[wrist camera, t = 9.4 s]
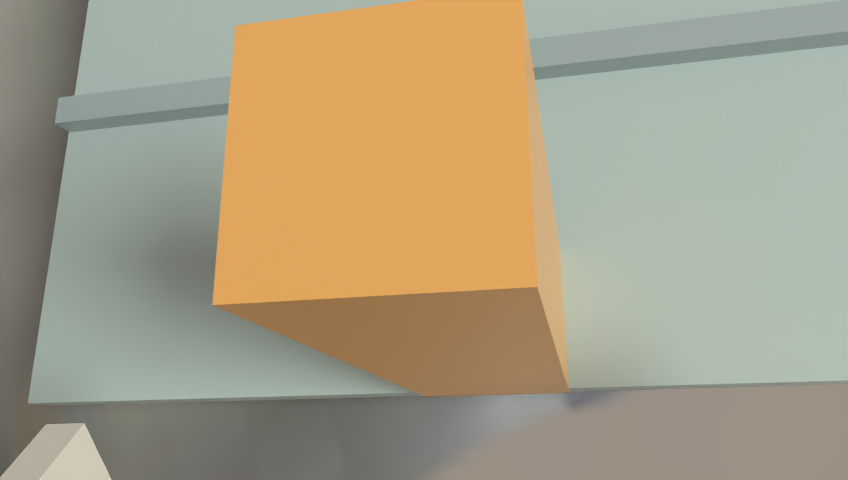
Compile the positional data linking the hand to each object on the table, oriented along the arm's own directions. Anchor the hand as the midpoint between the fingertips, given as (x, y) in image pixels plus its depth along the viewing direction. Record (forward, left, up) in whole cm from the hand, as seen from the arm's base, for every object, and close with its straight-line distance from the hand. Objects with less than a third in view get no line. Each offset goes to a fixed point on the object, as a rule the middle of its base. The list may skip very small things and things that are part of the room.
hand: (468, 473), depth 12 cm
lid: (0, +13, -5) cm, 14 cm away
